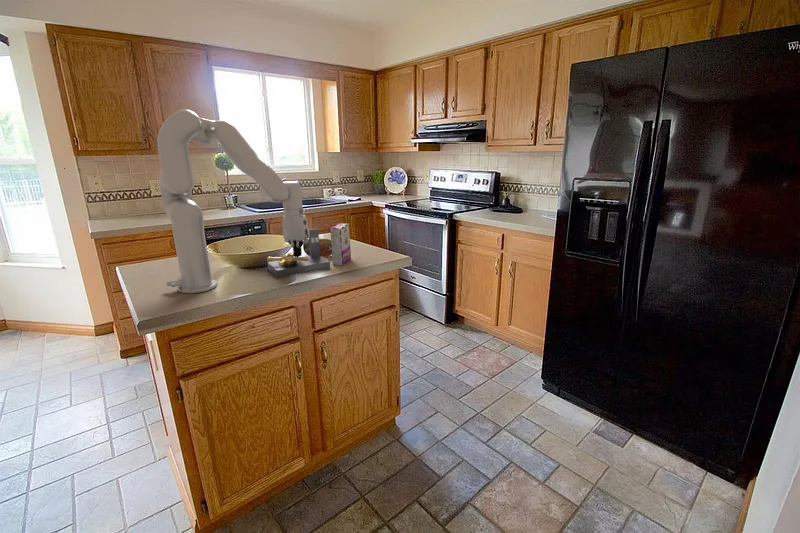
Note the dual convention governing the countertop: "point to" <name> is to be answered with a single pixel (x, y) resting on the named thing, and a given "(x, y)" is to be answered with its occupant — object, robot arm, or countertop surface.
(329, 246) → the tin
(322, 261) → the stand
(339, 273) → the countertop surface
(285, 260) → the capstan
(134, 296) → the countertop surface
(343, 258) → the candy bar box
